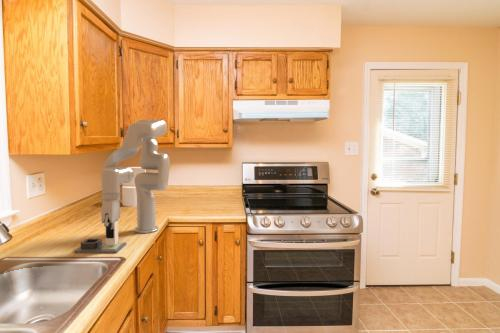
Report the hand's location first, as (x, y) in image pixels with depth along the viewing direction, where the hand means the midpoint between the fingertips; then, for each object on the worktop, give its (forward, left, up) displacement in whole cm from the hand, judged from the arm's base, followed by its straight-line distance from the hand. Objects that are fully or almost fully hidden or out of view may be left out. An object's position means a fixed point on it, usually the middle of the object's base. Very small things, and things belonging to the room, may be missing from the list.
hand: (112, 236), depth 148 cm
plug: (0, 0, -3) cm, 3 cm away
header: (0, -5, -6) cm, 7 cm away
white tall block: (-105, -25, -6) cm, 108 cm away
